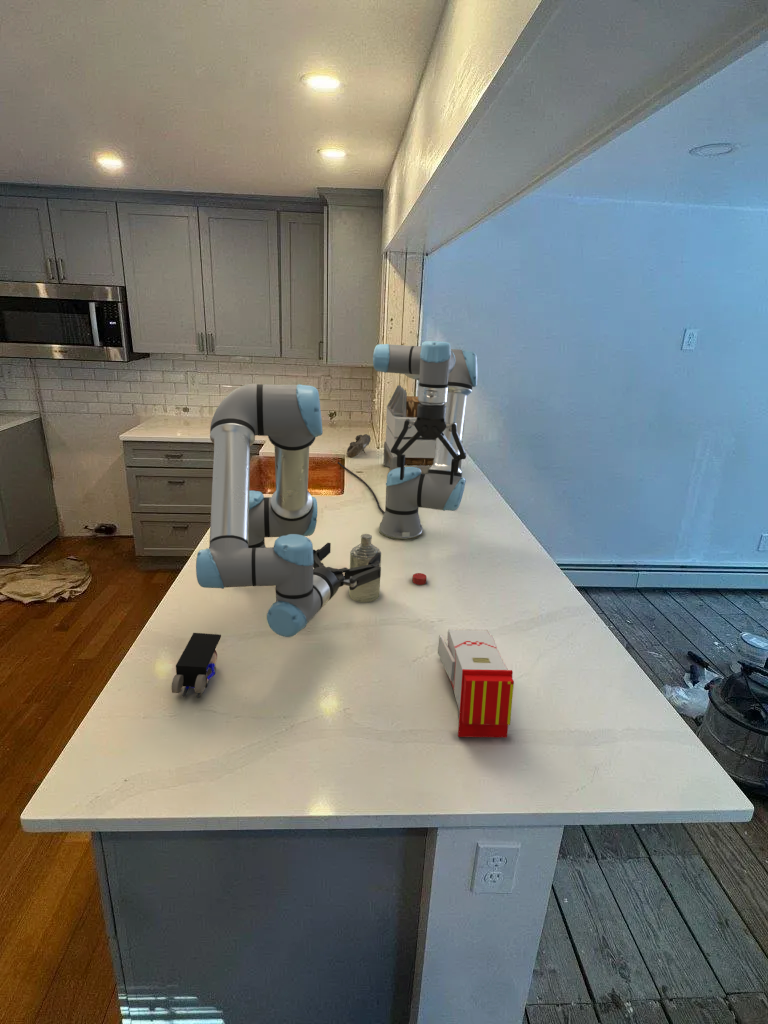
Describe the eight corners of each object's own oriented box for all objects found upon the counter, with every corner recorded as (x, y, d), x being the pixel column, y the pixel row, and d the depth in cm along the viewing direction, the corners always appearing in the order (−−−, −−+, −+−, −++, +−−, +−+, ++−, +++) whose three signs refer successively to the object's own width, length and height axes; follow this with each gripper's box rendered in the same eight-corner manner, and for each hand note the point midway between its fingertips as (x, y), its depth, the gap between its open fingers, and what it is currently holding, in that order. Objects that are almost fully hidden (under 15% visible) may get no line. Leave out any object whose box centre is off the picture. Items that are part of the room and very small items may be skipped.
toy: (488, 613, 130) (523, 677, 101) (484, 667, 133) (517, 744, 104) (435, 612, 130) (455, 676, 101) (432, 666, 133) (451, 743, 103)
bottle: (352, 603, 152) (353, 542, 146) (347, 589, 159) (348, 530, 153) (382, 601, 154) (385, 541, 148) (375, 587, 161) (378, 529, 155)
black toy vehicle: (206, 709, 112) (224, 658, 125) (202, 680, 108) (221, 630, 122) (172, 708, 112) (194, 657, 125) (167, 679, 108) (190, 629, 122)
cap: (421, 586, 163) (422, 580, 162) (409, 582, 165) (410, 576, 164) (428, 581, 166) (429, 575, 165) (416, 577, 168) (417, 571, 167)
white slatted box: (382, 463, 289) (386, 382, 275) (445, 464, 293) (451, 384, 279) (390, 482, 257) (394, 392, 243) (460, 483, 261) (468, 394, 247)
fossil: (346, 440, 316) (367, 425, 311) (357, 453, 319) (378, 438, 314) (340, 453, 296) (362, 438, 291) (351, 468, 299) (374, 452, 294)
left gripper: (266, 592, 129) (309, 556, 148) (368, 616, 122) (399, 575, 140) (265, 563, 127) (309, 530, 145) (369, 585, 119) (401, 547, 138)
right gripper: (382, 401, 146) (379, 480, 153) (479, 408, 142) (471, 489, 150) (387, 397, 153) (384, 473, 160) (480, 404, 149) (472, 481, 157)
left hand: (353, 552), depth 143 cm, fingers open, 13 cm apart
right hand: (426, 481), depth 155 cm, fingers open, 13 cm apart
